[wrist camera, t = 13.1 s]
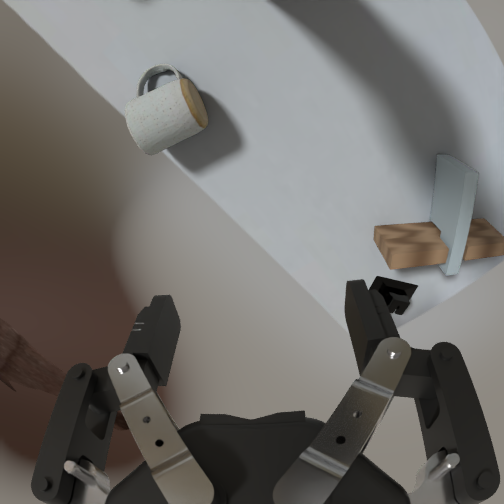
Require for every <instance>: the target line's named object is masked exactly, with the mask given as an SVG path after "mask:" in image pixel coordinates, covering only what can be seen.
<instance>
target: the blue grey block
mask: <svg viewBox="0 0 504 504" xmlns="http://www.w3.org/2000/svg"><path fill="white" fill-rule="evenodd" d="M478 176H479V172H477V171H476V170H474V169H472V168H471V167H469V166H468V165H466V164H464V163H463V162H461V161H459V160H458V159H456V158H454V157H453V156H451V155H445V154H437V159H436V172H435V183H434V192H433V201H432V208H431V216H430V220H431V221H432V222H433V223H434V224H435V225H436V226H437V227H438V228H439V230H440V231H441V234H440V238H441V240H442V241H443V242H444V243H445V244H446V246H447V247H448V248H449V252H448V256H447V260H446V263H441V264H438V265H439V267H440V268H441V270H442V271H443V273H444V274H445V275H446V276H448V275H454V274H458V272H459V269H460V265H461V262H462V258H463V254H464V250H465V246H466V241H467V237H468V233H469V228H470V223H471V218H472V213H473V208H474V202H475V196H476V190H477V183H478Z"/></svg>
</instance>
